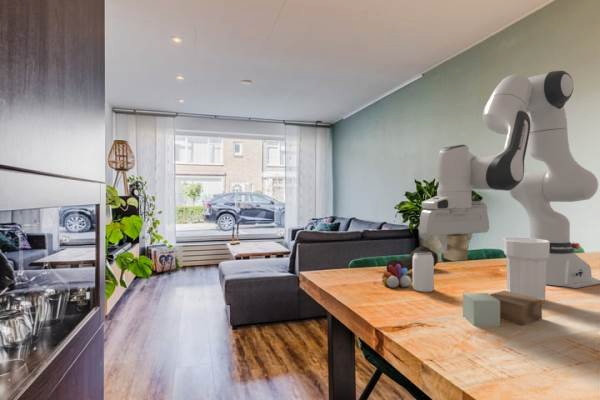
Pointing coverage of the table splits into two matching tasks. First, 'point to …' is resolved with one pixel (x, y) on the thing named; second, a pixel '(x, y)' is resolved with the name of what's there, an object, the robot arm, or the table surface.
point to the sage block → (481, 309)
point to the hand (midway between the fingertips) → (455, 249)
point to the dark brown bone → (411, 259)
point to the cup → (526, 266)
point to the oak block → (456, 247)
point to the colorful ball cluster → (396, 277)
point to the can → (423, 272)
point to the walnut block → (518, 308)
